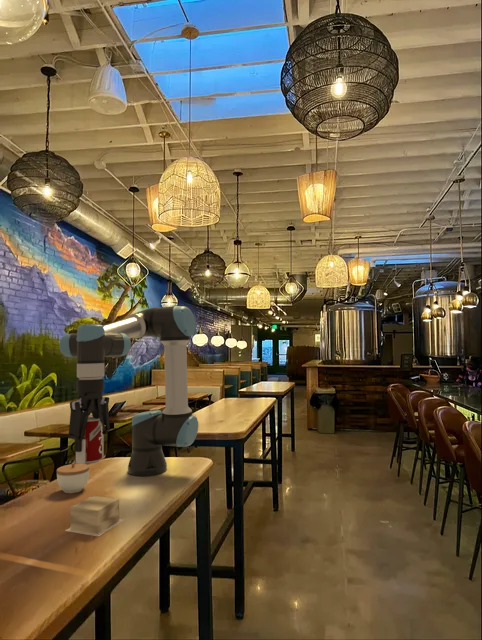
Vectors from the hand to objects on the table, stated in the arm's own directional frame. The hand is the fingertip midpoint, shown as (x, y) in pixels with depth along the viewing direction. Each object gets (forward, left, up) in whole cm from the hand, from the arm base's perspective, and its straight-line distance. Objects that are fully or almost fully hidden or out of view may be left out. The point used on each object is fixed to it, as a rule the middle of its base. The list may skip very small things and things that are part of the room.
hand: (89, 459), depth 125 cm
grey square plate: (+1, +1, -18) cm, 18 cm away
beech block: (+2, +3, -17) cm, 17 cm away
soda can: (0, 0, -1) cm, 1 cm away
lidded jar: (-22, -26, -18) cm, 38 cm away
